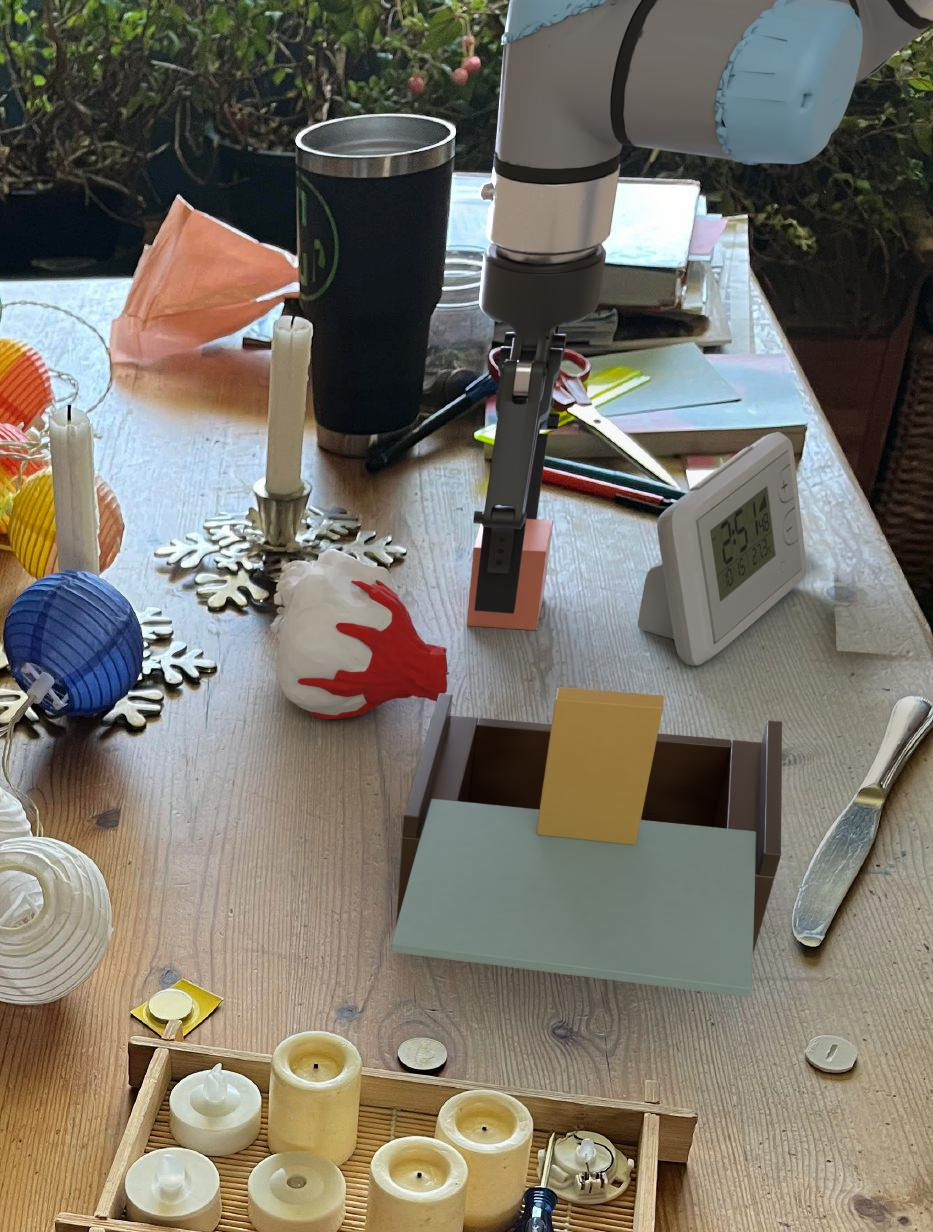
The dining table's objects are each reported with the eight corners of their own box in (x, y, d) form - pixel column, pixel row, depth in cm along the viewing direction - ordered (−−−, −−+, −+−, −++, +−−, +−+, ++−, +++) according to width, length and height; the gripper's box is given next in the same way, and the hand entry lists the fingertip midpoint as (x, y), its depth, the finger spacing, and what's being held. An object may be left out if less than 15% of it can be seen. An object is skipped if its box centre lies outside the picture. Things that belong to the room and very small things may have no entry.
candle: (281, 633, 114) (472, 697, 109) (210, 707, 107) (410, 778, 103) (297, 517, 107) (501, 580, 103) (222, 588, 101) (436, 658, 96)
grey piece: (754, 840, 80) (793, 691, 74) (749, 998, 72) (793, 845, 66) (430, 807, 84) (441, 664, 78) (390, 952, 76) (400, 805, 70)
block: (543, 597, 116) (553, 519, 112) (536, 630, 113) (546, 551, 108) (475, 593, 117) (482, 516, 113) (466, 625, 114) (473, 547, 110)
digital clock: (691, 680, 106) (722, 530, 99) (589, 634, 112) (611, 488, 104) (840, 600, 112) (880, 452, 105) (736, 559, 118) (767, 416, 110)
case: (747, 857, 92) (782, 720, 86) (742, 993, 84) (781, 854, 77) (428, 823, 97) (439, 692, 91) (394, 949, 89) (403, 815, 82)
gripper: (508, 181, 106) (477, 485, 122) (456, 313, 90) (427, 645, 105) (622, 182, 105) (575, 491, 120) (590, 317, 88) (541, 655, 103)
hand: (506, 564), depth 112 cm, fingers open, 13 cm apart
